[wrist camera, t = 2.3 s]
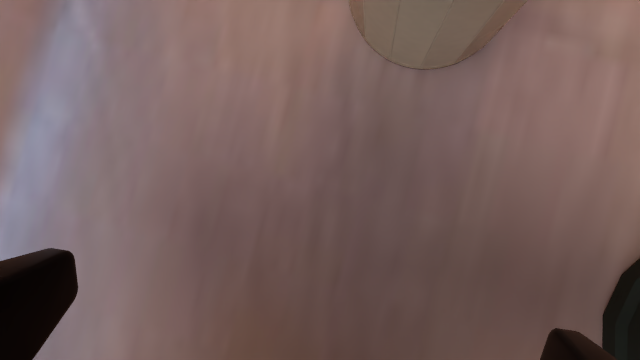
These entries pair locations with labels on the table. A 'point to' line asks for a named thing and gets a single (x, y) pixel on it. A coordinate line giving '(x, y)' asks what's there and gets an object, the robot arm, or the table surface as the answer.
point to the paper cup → (430, 28)
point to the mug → (624, 317)
